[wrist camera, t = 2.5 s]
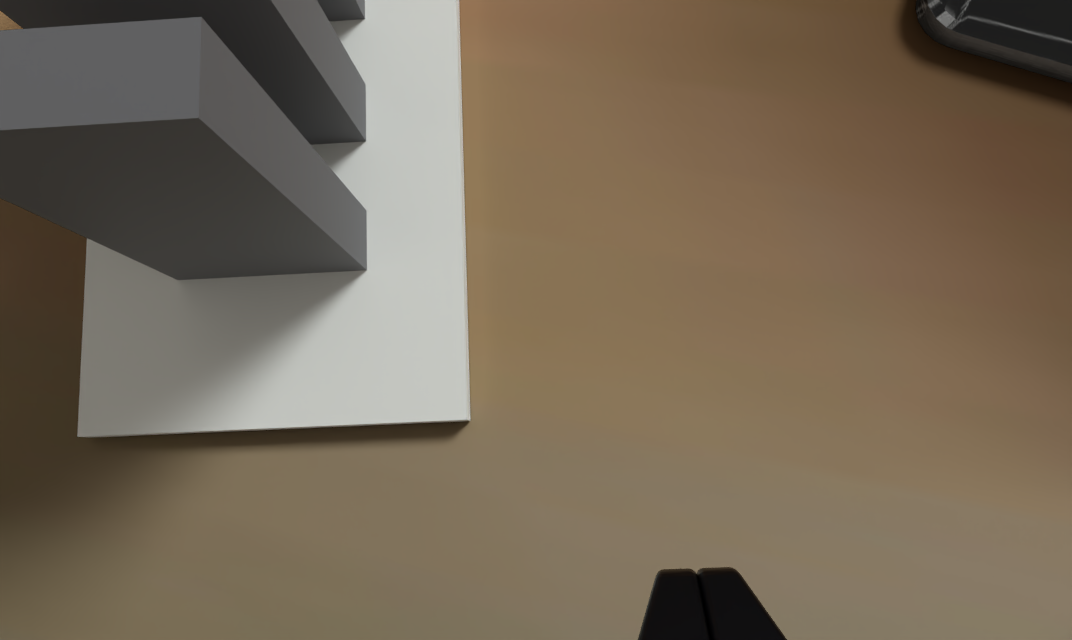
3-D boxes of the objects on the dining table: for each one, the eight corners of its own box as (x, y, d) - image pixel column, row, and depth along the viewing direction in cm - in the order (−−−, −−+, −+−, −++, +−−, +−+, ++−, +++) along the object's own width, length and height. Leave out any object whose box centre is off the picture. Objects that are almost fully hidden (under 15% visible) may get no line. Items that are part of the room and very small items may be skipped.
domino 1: (366, 141, 23) (204, -98, 14) (181, 152, 24) (-109, -74, 14) (365, 84, 24) (206, -191, 14) (183, 96, 24) (-101, -166, 14)
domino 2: (367, 270, 23) (198, 118, 13) (177, 280, 23) (-130, 138, 13) (366, 210, 23) (201, 16, 13) (179, 221, 23) (-120, 38, 13)
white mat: (470, 420, 23) (467, 419, 22) (90, 437, 23) (77, 436, 22) (452, -262, 26) (448, -279, 25) (121, -234, 26) (110, -250, 26)
